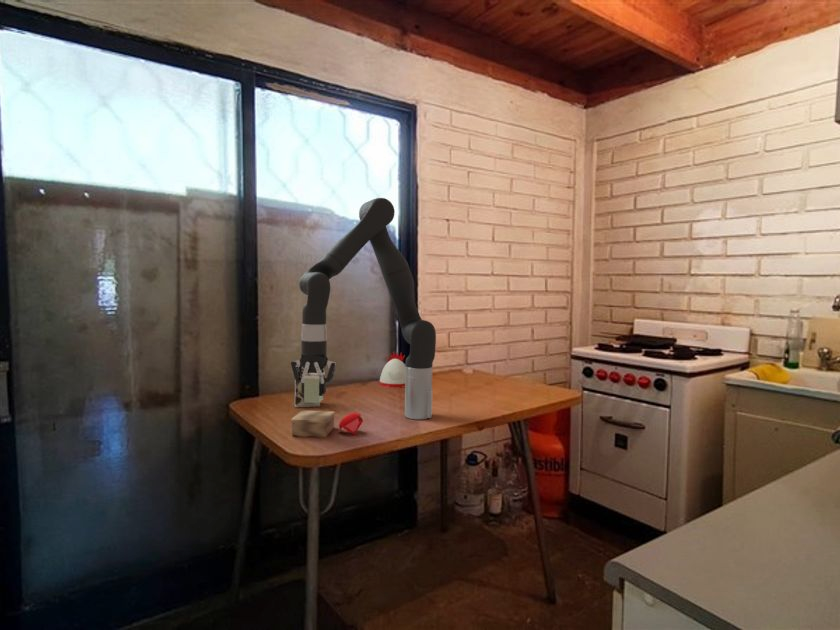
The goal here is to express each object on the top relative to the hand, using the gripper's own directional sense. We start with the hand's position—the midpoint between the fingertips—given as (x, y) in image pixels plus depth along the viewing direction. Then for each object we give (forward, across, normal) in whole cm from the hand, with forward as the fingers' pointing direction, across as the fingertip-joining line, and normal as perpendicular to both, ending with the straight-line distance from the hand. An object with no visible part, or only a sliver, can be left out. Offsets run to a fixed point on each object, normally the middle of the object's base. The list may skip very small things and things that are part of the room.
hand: (313, 394), depth 150 cm
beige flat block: (+11, 0, 0) cm, 11 cm away
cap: (+12, -11, 0) cm, 16 cm away
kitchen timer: (+11, -15, -75) cm, 77 cm away
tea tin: (+2, 0, 0) cm, 2 cm away
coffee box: (+12, +12, -32) cm, 36 cm away
